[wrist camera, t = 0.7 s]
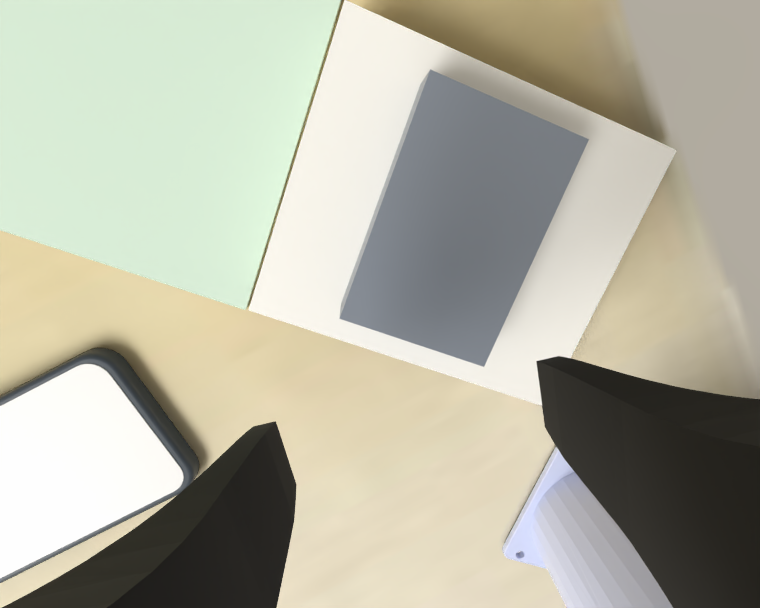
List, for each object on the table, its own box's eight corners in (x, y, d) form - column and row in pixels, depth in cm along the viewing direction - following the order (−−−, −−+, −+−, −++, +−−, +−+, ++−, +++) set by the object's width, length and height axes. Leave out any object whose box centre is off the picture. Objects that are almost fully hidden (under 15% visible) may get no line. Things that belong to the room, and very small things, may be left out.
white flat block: (630, 155, 20) (676, 150, 17) (520, 378, 23) (545, 406, 20) (345, 29, 18) (344, -1, 15) (263, 292, 21) (248, 310, 18)
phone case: (116, 332, 21) (-152, 472, 22) (98, 343, 20) (-190, 493, 21) (213, 466, 24) (-32, 589, 24) (204, 485, 22) (-57, 616, 23)
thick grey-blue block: (562, 144, 17) (589, 139, 15) (470, 348, 19) (484, 366, 17) (420, 83, 16) (430, 69, 14) (340, 304, 18) (339, 318, 16)
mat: (342, -2, 18) (342, -5, 17) (246, 308, 21) (245, 310, 20) (-87, -196, 15) (-95, -203, 15) (-121, 188, 18) (-128, 188, 18)
